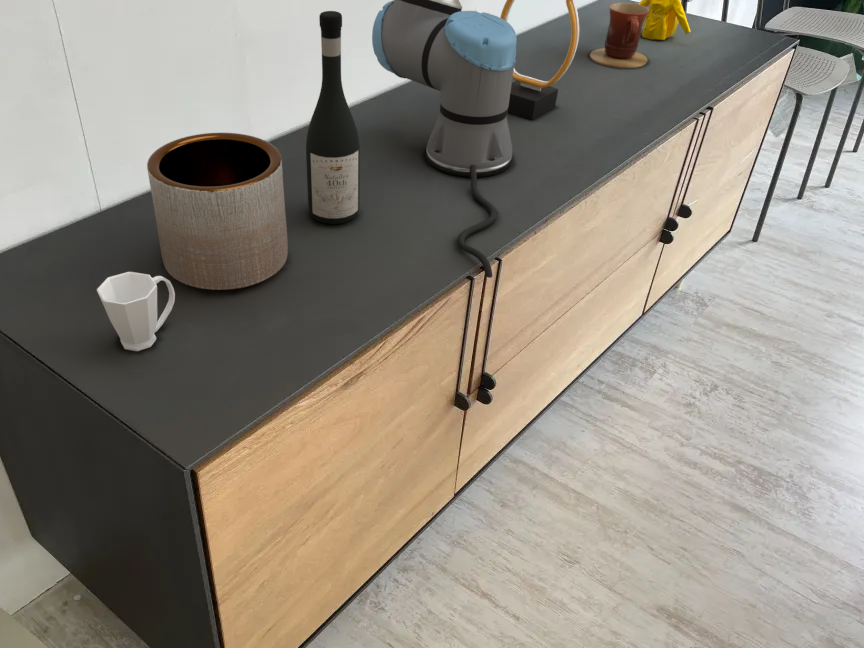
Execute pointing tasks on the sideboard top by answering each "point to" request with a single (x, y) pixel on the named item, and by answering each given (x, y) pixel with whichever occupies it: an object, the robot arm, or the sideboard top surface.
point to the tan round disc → (618, 60)
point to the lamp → (532, 93)
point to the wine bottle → (332, 138)
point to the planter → (219, 210)
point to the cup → (134, 307)
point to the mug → (624, 29)
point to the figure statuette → (663, 19)
